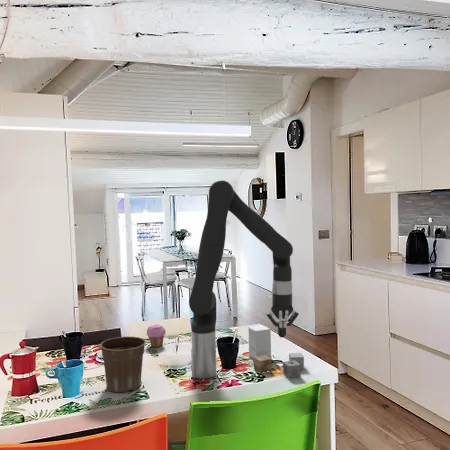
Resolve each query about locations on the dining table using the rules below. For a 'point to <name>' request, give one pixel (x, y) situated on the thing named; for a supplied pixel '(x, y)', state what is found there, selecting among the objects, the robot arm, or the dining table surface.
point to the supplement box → (259, 341)
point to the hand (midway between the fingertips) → (282, 336)
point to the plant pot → (123, 363)
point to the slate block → (297, 358)
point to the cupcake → (156, 334)
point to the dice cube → (292, 369)
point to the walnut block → (262, 364)
